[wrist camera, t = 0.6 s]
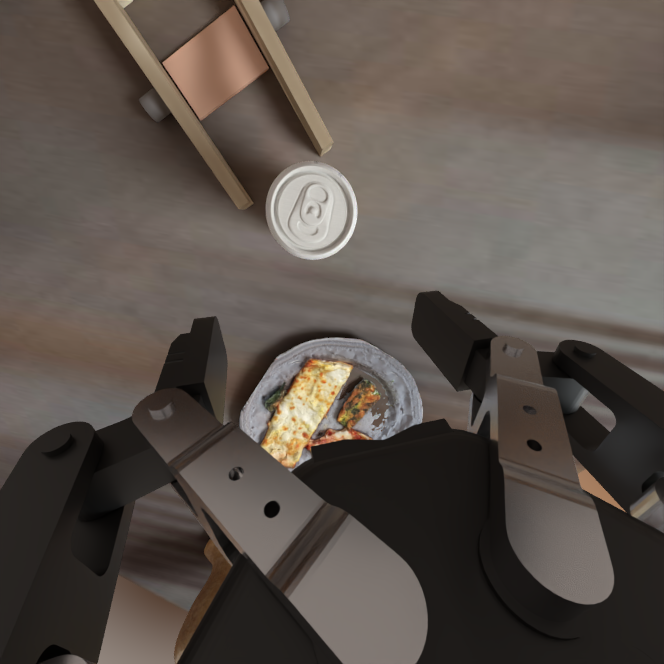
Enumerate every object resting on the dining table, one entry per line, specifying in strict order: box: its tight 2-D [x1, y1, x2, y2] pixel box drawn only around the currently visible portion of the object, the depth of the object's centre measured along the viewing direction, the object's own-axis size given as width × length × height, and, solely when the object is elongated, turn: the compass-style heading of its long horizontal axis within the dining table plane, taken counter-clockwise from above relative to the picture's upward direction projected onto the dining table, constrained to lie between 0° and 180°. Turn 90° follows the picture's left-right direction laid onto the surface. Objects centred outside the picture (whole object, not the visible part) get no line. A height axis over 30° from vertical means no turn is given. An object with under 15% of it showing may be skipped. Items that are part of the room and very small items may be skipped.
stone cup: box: [174, 539, 231, 664], centre depth 43 cm, size 15×12×15 cm
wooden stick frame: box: [94, 0, 333, 210], centre depth 26 cm, size 15×19×4 cm
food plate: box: [239, 338, 423, 472], centre depth 41 cm, size 25×23×4 cm
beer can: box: [266, 161, 357, 260], centre depth 26 cm, size 6×6×15 cm
